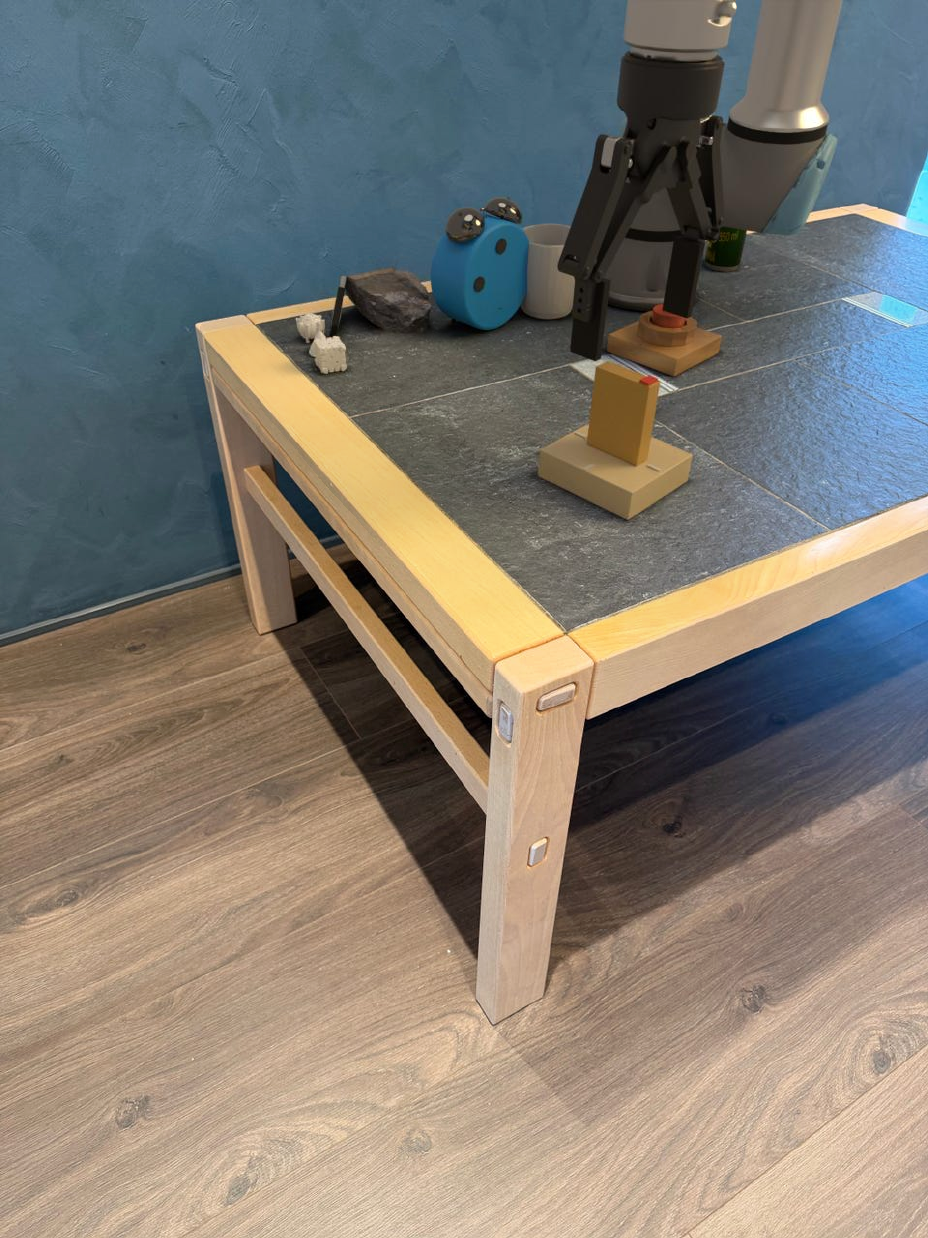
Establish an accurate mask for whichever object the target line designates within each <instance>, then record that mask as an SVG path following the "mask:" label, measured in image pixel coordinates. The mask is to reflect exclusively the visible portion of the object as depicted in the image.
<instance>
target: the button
mask: <svg viewBox="0 0 928 1238" xmlns="http://www.w3.org/2000/svg"><path fill="white" fill-rule="evenodd" d="M662 309H663V304H660V305H656V306H655V307H654V308H653V313H652V319H651V323H652V324H653V325H656V326H659V327H663V328H672V329H673V328H681V327H683V326H684V323H685V318H683V317H680V316H677V315H674V314H671V313H668V312H665V311H662Z"/></svg>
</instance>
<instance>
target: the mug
mask: <svg viewBox="0 0 928 1238" xmlns="http://www.w3.org/2000/svg"><path fill="white" fill-rule="evenodd" d="M570 228H571V225H565V224H561V223H560V224H559V223H539V224H532V225H529V226H524V227H523V228H522V229H523V230H524V232H525V233H526V235H527V237H528V239H529V249H528V265H527V292H526V295H525V297H524V299H523V301H522V303H521V305H520V307H521V310H522V311H523V313H524V314H526V315H528V316H530V317H532V318H534V319H539V320H556V319H560V318H564V317H566V316H568V315H569V314H570V313H572V308H573V300H574V299H573V298H574V288H575V278H574V276H571V275H568V274H565V273H562V272H559V271H558V268H557V265H558V261H559V258H560V255H561V253H562V250H563V247H564V244H565V242H566V239H567V236H568V233H569V230H570ZM575 258H576V257H574V259H575Z"/></svg>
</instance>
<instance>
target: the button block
mask: <svg viewBox="0 0 928 1238" xmlns="http://www.w3.org/2000/svg"><path fill="white" fill-rule="evenodd" d="M652 313H653V311H645V312H644V313H642V314H640V315H639V319H638V321H635V322H633V323H631V324H628V325H626V326H624V327H622V328H620V329H617V330H615V331H613V332H611V333H609V334H608V337H607V347H606V352H607V353H610V354H613V355H616V356H619V357H621V358H623V359H626V360H629V361H631V362H634V363H636V364H640V365H642V366H645V367H647V368H650V369H652V370H656V371H658V372H661V373H663V374H666V375H669V376H671V377H675V376H677V375H679V374H681V373H683V372H685V371H687V370H689V369H691V368H693V367H695V366H696V365H698V364H700V363H702V362H704V361H706V360H707V359H710V358H711V357H713V356H716V354H719V353H720V348H721V345H722V344H721V343H722V340H723V339H722V338H723V335H721V334H719V333H716V332H713V331H709V330H707V329H704V328H700V327H697V324H698V321H697V320H696V319H695V318H694V317H692V316H691V317H689V318H687V319H686V318H685V323H684V326H683V327H681V328H673V329H672V328H663V327H659V326H656V325H653V324H652V323H651V319H652Z"/></svg>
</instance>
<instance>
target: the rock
mask: <svg viewBox="0 0 928 1238" xmlns="http://www.w3.org/2000/svg"><path fill="white" fill-rule="evenodd" d="M344 288H345V295H346V297H347V299H348V300H349V301H350V302H351V304H353V305H354V307H355V308H356V309H357V311H359V313H360V314H361V315H362V316H363V317H365V318H366V319H367V320H368V321H370V322H371V323H372V324H374V325H376V326H377V327H379V328H381V329H383V330H384V331H385V332H387V333H391V334H397V335H398V334H399V335H400V334H404V335H410V334H412V335H413V334H425V333H427V332H428V331H429V330H428V329H429V328H428V325H429V321H430V314H431V310H432V299H431V298H430V297H429V291H428V289H427V286H425V285H424V284H422V282H421V278H420V277H419V276H417V275H415V274H414V273H412V272H410V271H408V270H406V269H403V270H401V269H400V270H399V269H397V268H395V267H388V268H383V269H382V268H378V269H376V270H371V271H366V272H360V273H355V274H350V275H347V276H346V281H345V287H344Z"/></svg>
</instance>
